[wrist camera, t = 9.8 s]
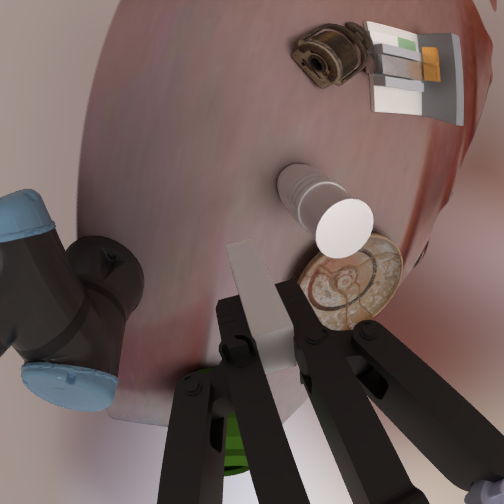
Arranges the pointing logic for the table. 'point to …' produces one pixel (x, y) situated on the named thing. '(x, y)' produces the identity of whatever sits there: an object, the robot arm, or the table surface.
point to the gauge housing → (417, 92)
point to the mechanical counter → (332, 53)
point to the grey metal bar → (406, 66)
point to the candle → (325, 210)
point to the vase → (232, 444)
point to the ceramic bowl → (353, 283)
